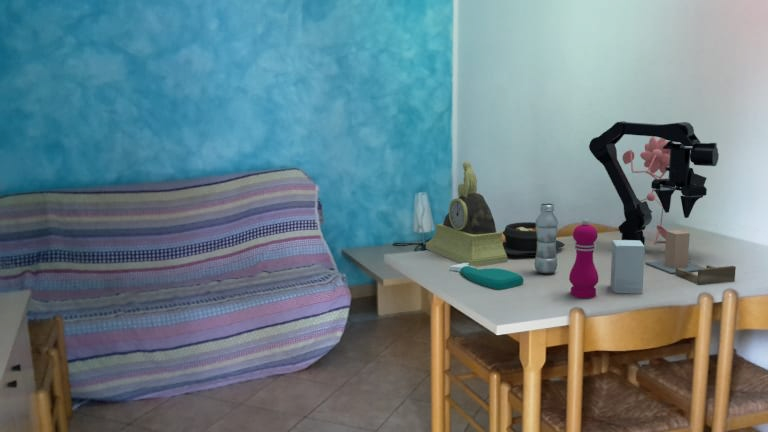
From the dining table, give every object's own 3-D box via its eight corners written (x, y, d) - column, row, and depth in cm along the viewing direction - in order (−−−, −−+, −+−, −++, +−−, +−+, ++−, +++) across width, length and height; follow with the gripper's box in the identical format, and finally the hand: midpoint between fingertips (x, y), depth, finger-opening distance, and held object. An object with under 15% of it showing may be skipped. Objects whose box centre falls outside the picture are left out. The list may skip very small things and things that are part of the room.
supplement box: (643, 294, 181) (645, 246, 178) (612, 293, 182) (614, 245, 180) (638, 286, 188) (641, 239, 185) (609, 285, 189) (611, 239, 187)
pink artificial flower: (676, 248, 228) (683, 139, 222) (609, 235, 248) (614, 136, 242) (702, 242, 237) (710, 137, 231) (635, 230, 257) (640, 134, 251)
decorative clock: (425, 249, 235) (425, 159, 229) (458, 244, 240) (458, 156, 235) (471, 268, 210) (471, 168, 204) (507, 262, 215) (508, 165, 210)
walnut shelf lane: (675, 275, 197) (676, 261, 196) (709, 271, 200) (710, 258, 199) (699, 284, 188) (700, 270, 187) (734, 281, 190) (735, 266, 190)
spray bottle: (496, 292, 186) (441, 273, 207) (527, 285, 192) (470, 267, 212) (496, 281, 186) (441, 263, 206) (527, 274, 191) (470, 258, 212)
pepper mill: (564, 291, 184) (566, 216, 181) (591, 290, 185) (594, 215, 181) (574, 299, 177) (576, 221, 174) (602, 298, 178) (605, 220, 174)
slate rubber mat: (645, 264, 210) (645, 262, 210) (680, 260, 213) (680, 259, 213) (671, 274, 198) (671, 272, 198) (707, 270, 201) (707, 268, 201)
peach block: (664, 264, 207) (666, 231, 205) (677, 263, 208) (679, 229, 206) (674, 268, 203) (676, 234, 201) (687, 266, 204) (689, 233, 202)
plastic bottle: (558, 270, 205) (560, 202, 201) (555, 276, 198) (557, 206, 195) (535, 269, 207) (537, 201, 203) (532, 275, 200) (534, 205, 197)
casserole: (518, 263, 214) (519, 236, 212) (480, 251, 230) (480, 226, 228) (578, 252, 226) (579, 226, 225) (537, 241, 242) (538, 217, 240)
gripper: (724, 166, 206) (720, 218, 209) (682, 160, 223) (679, 208, 226) (691, 168, 203) (688, 221, 206) (651, 161, 221) (649, 210, 224)
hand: (676, 215), depth 215 cm, fingers open, 9 cm apart
